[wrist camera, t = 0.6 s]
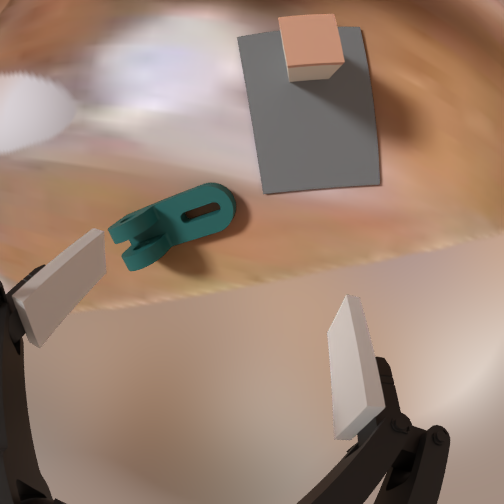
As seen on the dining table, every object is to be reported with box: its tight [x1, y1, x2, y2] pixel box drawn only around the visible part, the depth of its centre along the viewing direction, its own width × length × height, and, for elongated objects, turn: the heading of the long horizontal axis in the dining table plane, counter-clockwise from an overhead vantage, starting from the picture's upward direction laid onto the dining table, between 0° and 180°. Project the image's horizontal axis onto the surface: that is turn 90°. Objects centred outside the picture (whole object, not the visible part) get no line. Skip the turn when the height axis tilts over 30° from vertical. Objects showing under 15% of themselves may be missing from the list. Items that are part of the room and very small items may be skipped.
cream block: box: [278, 14, 345, 82], centre depth 24 cm, size 5×5×12 cm
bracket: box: [108, 183, 236, 271], centre depth 39 cm, size 18×7×8 cm, turn 110°
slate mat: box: [237, 27, 380, 194], centre depth 33 cm, size 22×16×1 cm
